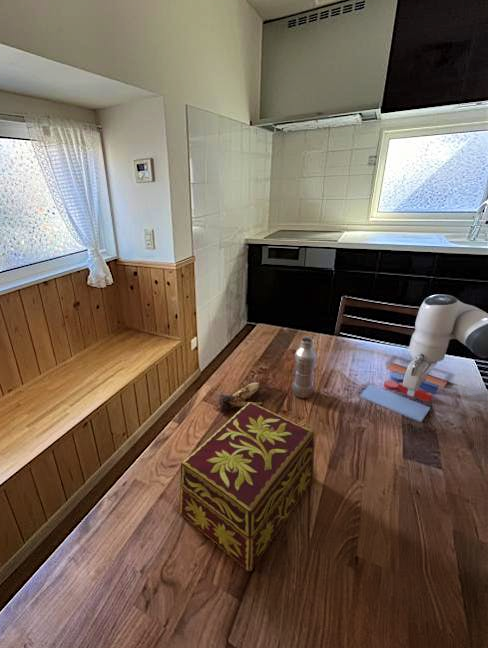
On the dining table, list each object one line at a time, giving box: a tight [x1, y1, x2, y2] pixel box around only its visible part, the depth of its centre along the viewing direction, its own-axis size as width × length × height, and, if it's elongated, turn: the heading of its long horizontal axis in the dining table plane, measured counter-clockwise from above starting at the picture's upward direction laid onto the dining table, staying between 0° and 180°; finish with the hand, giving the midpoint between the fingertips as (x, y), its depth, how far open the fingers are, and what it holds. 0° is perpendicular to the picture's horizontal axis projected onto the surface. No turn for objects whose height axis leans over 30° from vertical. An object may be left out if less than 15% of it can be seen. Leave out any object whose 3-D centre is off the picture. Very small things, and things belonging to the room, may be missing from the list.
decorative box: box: [179, 401, 315, 573], centre depth 74 cm, size 28×19×15 cm
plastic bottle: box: [291, 336, 318, 399], centre depth 105 cm, size 6×7×20 cm
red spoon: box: [383, 379, 434, 403], centre depth 106 cm, size 13×4×2 cm, turn 42°
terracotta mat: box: [386, 362, 449, 389], centre depth 115 cm, size 17×8×1 cm, turn 42°
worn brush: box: [217, 381, 263, 413], centre depth 106 cm, size 9×5×18 cm
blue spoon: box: [390, 372, 439, 395], centre depth 110 cm, size 13×4×2 cm, turn 42°
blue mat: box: [359, 384, 431, 423], centre depth 102 cm, size 17×8×1 cm, turn 42°
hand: (416, 387), depth 104 cm, fingers open, 8 cm apart
